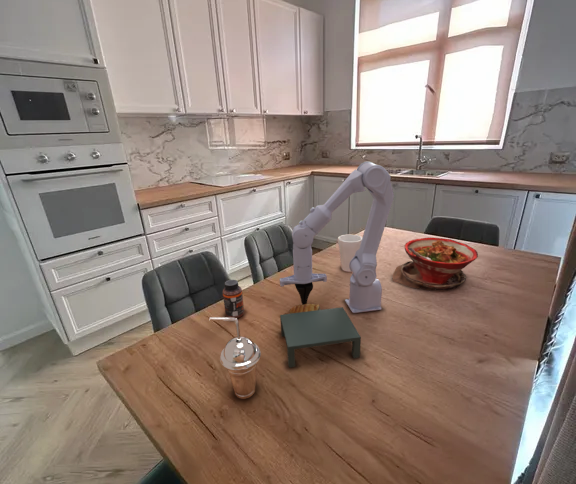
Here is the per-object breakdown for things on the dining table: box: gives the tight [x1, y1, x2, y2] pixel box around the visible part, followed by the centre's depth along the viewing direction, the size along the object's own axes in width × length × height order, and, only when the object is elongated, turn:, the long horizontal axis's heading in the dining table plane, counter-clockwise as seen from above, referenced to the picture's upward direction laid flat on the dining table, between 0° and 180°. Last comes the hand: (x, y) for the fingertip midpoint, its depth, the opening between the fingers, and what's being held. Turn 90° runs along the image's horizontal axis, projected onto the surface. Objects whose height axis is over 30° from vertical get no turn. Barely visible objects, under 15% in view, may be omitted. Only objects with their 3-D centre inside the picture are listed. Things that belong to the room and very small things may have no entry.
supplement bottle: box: [222, 279, 245, 319], centre depth 96 cm, size 6×6×11 cm
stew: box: [392, 237, 479, 292], centre depth 111 cm, size 28×24×16 cm
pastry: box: [289, 302, 321, 314], centre depth 95 cm, size 9×7×4 cm
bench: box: [279, 306, 362, 369], centre depth 82 cm, size 18×14×6 cm
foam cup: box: [337, 233, 363, 273], centre depth 124 cm, size 10×9×13 cm
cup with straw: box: [208, 316, 262, 400], centre depth 66 cm, size 8×9×20 cm
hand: (303, 303), depth 99 cm, fingers closed
